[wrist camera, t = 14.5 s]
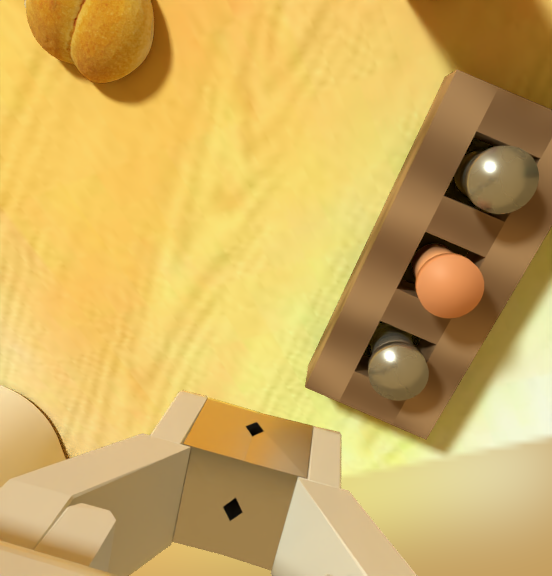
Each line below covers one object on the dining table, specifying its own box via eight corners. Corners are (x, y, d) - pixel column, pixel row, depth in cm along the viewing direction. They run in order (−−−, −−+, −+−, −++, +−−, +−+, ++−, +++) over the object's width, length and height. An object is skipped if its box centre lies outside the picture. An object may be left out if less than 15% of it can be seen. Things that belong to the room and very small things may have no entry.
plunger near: (489, 211, 37) (516, 224, 31) (438, 189, 37) (456, 198, 31) (517, 158, 36) (552, 161, 30) (465, 135, 36) (489, 135, 30)
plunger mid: (445, 299, 38) (464, 328, 32) (396, 277, 38) (406, 303, 32) (472, 251, 37) (496, 272, 31) (421, 229, 37) (435, 246, 31)
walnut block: (418, 412, 43) (426, 439, 39) (308, 365, 43) (304, 387, 39) (578, 133, 35) (606, 132, 31) (444, 77, 35) (457, 69, 32)
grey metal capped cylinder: (402, 371, 41) (412, 409, 35) (356, 351, 41) (358, 386, 35) (425, 328, 40) (439, 361, 34) (378, 308, 40) (384, 337, 34)
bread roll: (129, 102, 39) (105, 98, 35) (28, 35, 38) (-7, 24, 35) (181, -2, 36) (161, -19, 33) (73, -75, 36) (41, -100, 32)
